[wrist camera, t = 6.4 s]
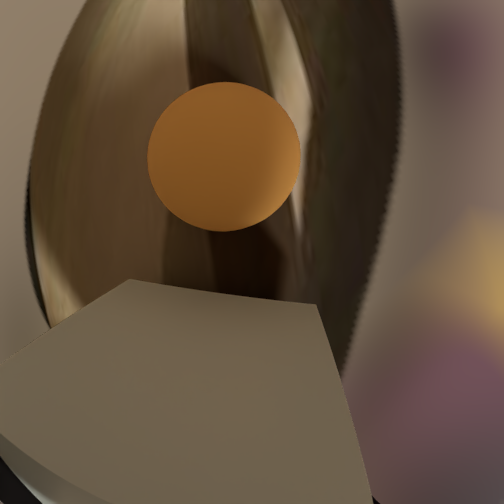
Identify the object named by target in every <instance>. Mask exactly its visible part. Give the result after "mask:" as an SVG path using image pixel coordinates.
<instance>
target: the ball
mask: <svg viewBox="0 0 504 504" xmlns="http://www.w3.org/2000/svg"><path fill="white" fill-rule="evenodd" d="M147 164H148V172H149V177H150V180H151V183H152V186H153V188H154V190H155V192H156V194H157V195H158V197H159V198H160V200H161V201H162V203H163V204H164V205H165V206H166V207H167V208H168V209H169V210H170V211H171V212H172V213H173V214H174V215H175V216H177V217H178V218H180V219H181V220H183V221H184V222H186V223H189V224H191V225H193V226H196V227H199V228H202V229H206V230H211V231H234V230H239V229H243V228H246V227H249V226H252V225H255V224H257V223H258V222H260V221H262V220H264V219H266V218H267V217H268V216H270V215H271V214H273V213H274V212H275V211H276V210H277V209H278V208H279V207H280V206H281V205H282V204H283V202H284V201H285V200H286V199H287V197H288V196H289V194H290V192H291V191H292V189H293V186H294V184H295V182H296V179H297V176H298V172H299V166H300V143H299V139H298V135H297V132H296V129H295V127H294V124H293V122H292V121H291V119H290V117H289V116H288V114H287V113H286V111H285V110H284V109H283V108H282V107H281V105H280V104H278V103H277V102H276V101H275V100H274V99H273V98H272V97H270V96H269V95H267V94H266V93H264V92H262V91H260V90H258V89H256V88H253V87H251V86H248V85H244V84H240V83H233V82H217V83H211V84H206V85H203V86H199V87H196V88H194V89H192V90H190V91H188V92H186V93H184V94H183V95H181V96H180V97H178V98H177V99H176V100H174V101H173V102H172V103H171V104H170V105H169V106H168V107H167V108H166V109H165V110H164V112H163V113H162V114H161V116H160V117H159V119H158V120H157V122H156V124H155V126H154V128H153V130H152V133H151V136H150V139H149V144H148V152H147Z"/></svg>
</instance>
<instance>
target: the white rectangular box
mask: <svg viewBox="0 0 504 504" xmlns="http://www.w3.org/2000/svg"><path fill="white" fill-rule="evenodd" d="M0 456H1V458H2V459H3V460H4V462H5V463H6V464H7V465H8V467H9V468H10V469H11V470H12V471H13V473H14V474H15V475H16V476H17V477H18V478H19V480H20V481H21V482H22V483H23V484H24V485H25V486H26V487H27V488H28V489H29V490H30V491H31V493H32V494H33V495H34V496H35V497H36V498H37V499H38V500H39V501H40V502H41V503H43V504H373V500H372V495H371V491H370V487H369V483H368V479H367V475H366V471H365V466H364V462H363V459H362V455H361V451H360V448H359V443H358V439H357V436H356V432H355V428H354V425H353V422H352V418H351V414H350V411H349V407H348V404H347V400H346V397H345V393H344V390H343V387H342V384H341V380H340V377H339V374H338V370H337V367H336V364H335V361H334V358H333V355H332V351H331V348H330V345H329V342H328V339H327V336H326V333H325V330H324V327H323V324H322V321H321V318H320V315H319V312H318V309H317V306H316V305H315V304H305V303H296V302H286V301H278V300H269V299H261V298H252V297H245V296H237V295H229V294H222V293H215V292H208V291H201V290H195V289H188V288H182V287H175V286H169V285H163V284H157V283H151V282H145V281H140V280H134V279H128V280H126V281H125V282H123V283H122V284H120V285H118V286H117V287H115V288H113V289H112V290H110V291H109V292H107V293H105V294H104V295H102V296H101V297H99V298H97V299H96V300H94V301H93V302H91V303H90V304H88V305H86V306H85V307H83V308H82V309H80V310H79V311H77V312H76V313H74V314H72V315H71V316H69V317H68V318H66V319H65V320H63V321H62V322H60V323H59V324H57V325H56V326H54V327H53V328H51V329H50V330H48V331H47V332H45V333H44V334H42V335H41V336H39V337H38V338H36V339H35V340H33V341H32V342H31V343H29V344H28V345H26V346H25V347H23V348H22V349H20V350H19V351H18V352H16V353H15V354H13V355H12V356H11V357H9V358H8V359H7V360H5V361H4V362H2V363H1V364H0Z"/></svg>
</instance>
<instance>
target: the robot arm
mask: <svg viewBox="0 0 504 504" xmlns="http://www.w3.org/2000/svg"><path fill="white" fill-rule="evenodd" d="M372 500H373V504H380V503H379V502H378V501H376V500H375V498H374V497H373V496H372ZM0 504H43V503H41V502H40V501H39V500H38V499H37V498H36V497H35V496H34V495H33V494H32V493H31V491H30V490H29V489H28V488H27V487H26V486H25V485H24V484H23V483H22V482H21V481H20V480H19V478H18V477H17V476H16V475H15V474H14V473H13V471H12V470H11V469H10V468H9V467H8V465H7V464H6V463H5V462H4V460H3V459H2V458H1V456H0Z"/></svg>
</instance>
